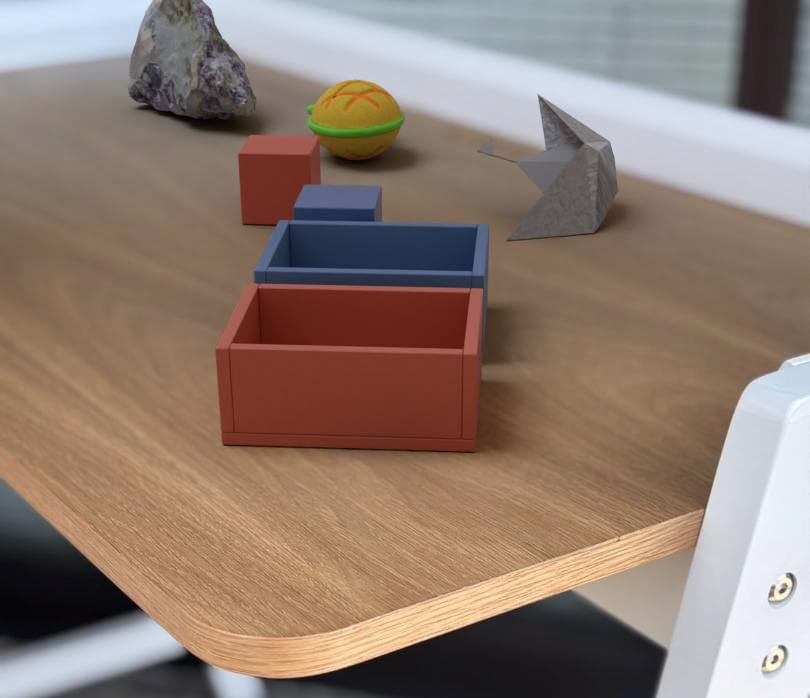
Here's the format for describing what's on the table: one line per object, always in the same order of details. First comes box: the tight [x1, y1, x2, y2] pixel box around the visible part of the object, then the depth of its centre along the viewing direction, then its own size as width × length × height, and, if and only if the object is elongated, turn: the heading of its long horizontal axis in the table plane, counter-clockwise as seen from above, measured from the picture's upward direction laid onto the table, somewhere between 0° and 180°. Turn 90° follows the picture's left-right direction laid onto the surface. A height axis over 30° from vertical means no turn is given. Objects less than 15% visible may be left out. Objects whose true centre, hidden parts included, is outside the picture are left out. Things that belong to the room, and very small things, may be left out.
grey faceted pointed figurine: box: [476, 94, 619, 242], centre depth 94 cm, size 12×6×9 cm
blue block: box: [293, 184, 383, 222], centre depth 85 cm, size 4×4×4 cm
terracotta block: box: [237, 134, 322, 226], centre depth 95 cm, size 4×4×4 cm
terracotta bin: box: [214, 283, 483, 453], centre depth 68 cm, size 11×8×5 cm
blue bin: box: [253, 220, 490, 364], centre depth 77 cm, size 11×8×5 cm
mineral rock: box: [127, 0, 257, 120], centre depth 116 cm, size 13×11×10 cm
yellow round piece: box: [306, 79, 405, 161], centre depth 108 cm, size 7×10×5 cm
